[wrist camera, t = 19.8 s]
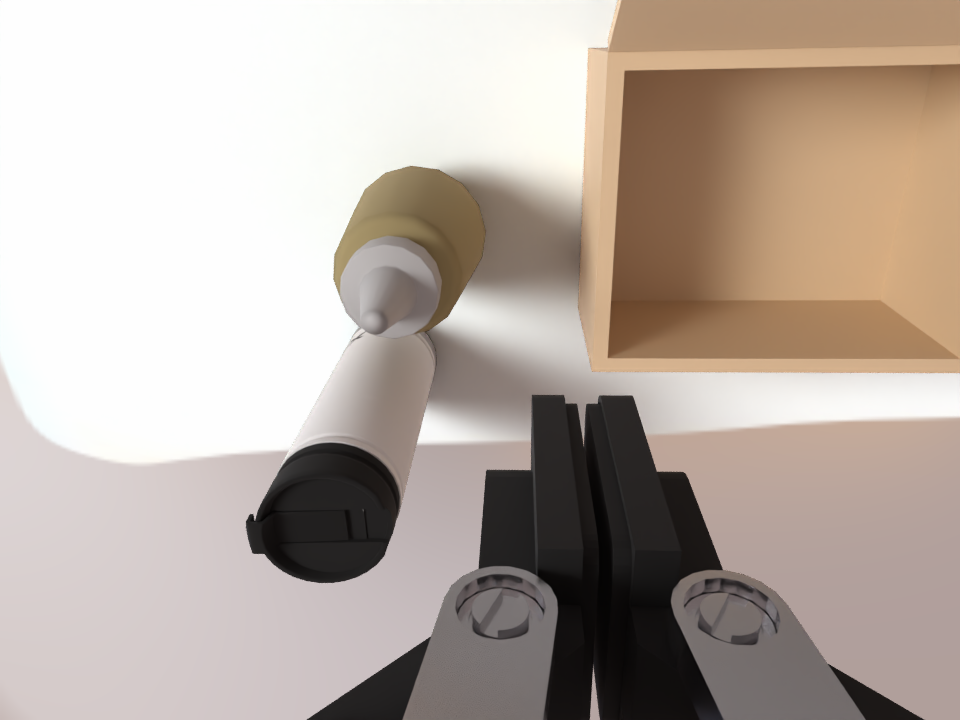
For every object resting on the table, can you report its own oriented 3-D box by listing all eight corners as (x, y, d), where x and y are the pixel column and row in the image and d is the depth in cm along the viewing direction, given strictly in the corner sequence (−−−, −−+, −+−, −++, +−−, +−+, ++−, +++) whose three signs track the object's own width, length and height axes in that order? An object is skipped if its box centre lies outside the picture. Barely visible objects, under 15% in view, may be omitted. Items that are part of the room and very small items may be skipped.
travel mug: (338, 315, 49) (232, 480, 31) (434, 314, 49) (383, 480, 30) (348, 396, 52) (256, 592, 33) (439, 395, 51) (395, 594, 33)
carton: (588, 48, 41) (607, 52, 32) (945, 40, 40) (1069, 42, 31) (578, 307, 48) (592, 371, 39) (884, 307, 47) (972, 373, 38)
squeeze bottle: (349, 257, 47) (260, 374, 31) (382, 137, 44) (301, 197, 28) (465, 296, 48) (438, 430, 32) (505, 181, 45) (498, 264, 28)
